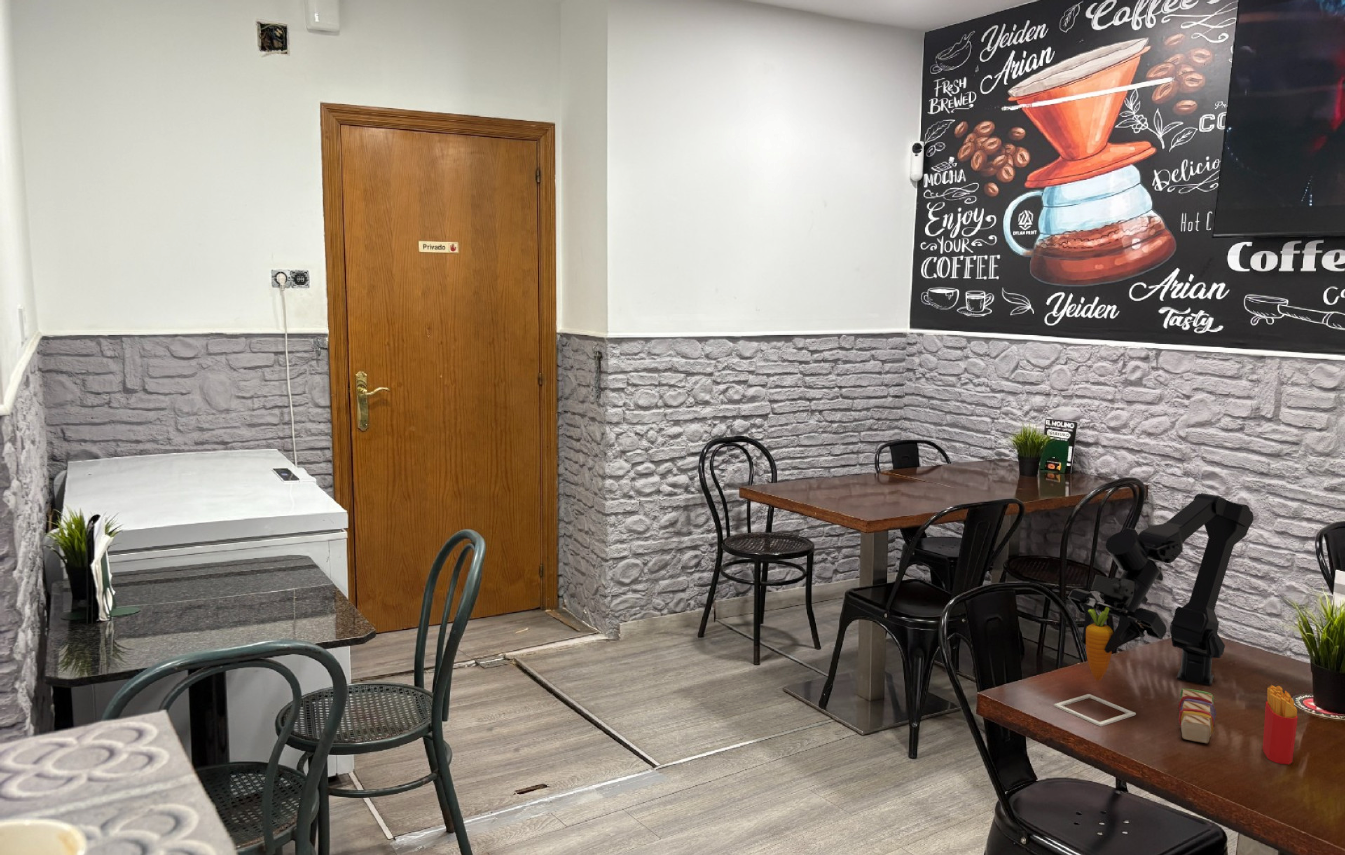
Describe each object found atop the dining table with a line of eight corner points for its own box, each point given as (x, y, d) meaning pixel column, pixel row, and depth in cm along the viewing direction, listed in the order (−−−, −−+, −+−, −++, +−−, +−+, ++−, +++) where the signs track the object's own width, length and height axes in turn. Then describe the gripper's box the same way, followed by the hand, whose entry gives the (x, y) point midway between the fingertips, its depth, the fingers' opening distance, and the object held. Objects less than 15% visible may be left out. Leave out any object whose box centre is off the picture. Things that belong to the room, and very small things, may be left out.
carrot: (1082, 683, 188) (1085, 608, 187) (1085, 674, 193) (1088, 602, 191) (1110, 687, 186) (1113, 612, 184) (1112, 679, 190) (1115, 605, 189)
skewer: (1215, 749, 174) (1217, 723, 174) (1175, 741, 177) (1177, 715, 177) (1214, 707, 192) (1216, 683, 192) (1178, 701, 196) (1180, 677, 195)
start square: (1088, 695, 197) (1088, 693, 197) (1135, 715, 188) (1135, 713, 188) (1053, 706, 192) (1054, 704, 192) (1100, 726, 183) (1100, 724, 183)
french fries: (1296, 767, 167) (1302, 702, 166) (1270, 764, 168) (1276, 699, 167) (1282, 746, 175) (1288, 683, 174) (1257, 743, 176) (1263, 680, 175)
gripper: (1076, 549, 196) (1036, 610, 192) (1161, 572, 180) (1120, 639, 176) (1099, 581, 201) (1061, 641, 197) (1184, 606, 185) (1144, 672, 181)
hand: (1094, 647), depth 188 cm, fingers closed on carrot, 5 cm apart
